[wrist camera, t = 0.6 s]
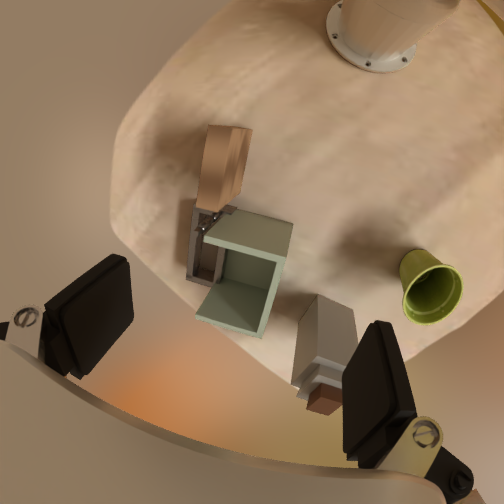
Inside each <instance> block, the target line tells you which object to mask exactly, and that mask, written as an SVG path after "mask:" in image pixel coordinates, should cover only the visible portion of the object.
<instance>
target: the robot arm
mask: <svg viewBox="0 0 504 504" xmlns="http://www.w3.org/2000/svg"><path fill="white" fill-rule="evenodd" d="M482 1H483V2H484V3H485V4H487V5H488V6H489V7H490V8H491V9H492V10H493V11H494V12H495V13H496V14H497V15H498V16H499V17H500V18H501V19H502V20H503V21H504V0H482ZM459 3H460V0H340V1H339V2H337V3H336V4H335V5H333V6H332V8H331V9H330V11H329V12H328V15H327V19H326V31H327V34H328V38H329V40H330V42H331V44H332V45H333V47H334V48H335V49H336V51H337V52H338V53H339V54H340V55H341V56H342V57H343V58H345V59H346V60H347V61H349V62H350V63H351V64H353V65H355V66H357V67H359V68H361V69H364V70H367V71H370V72H375V73H393V72H396V71H399V70H401V69H403V68H404V67H406V66H407V65H408V64H409V63H410V62H411V61H412V59H413V58H414V56H415V53H416V47H417V44H416V43H417V42H418V41H419V40H420V39H422V38H423V37H424V36H426V35H427V34H428V33H429V32H431V31H432V30H433V29H435V28H436V27H437V26H439V25H440V24H441V23H443V22H444V21H445V20H447V19H448V18H449V17H451V16H452V15H453V14H454V13H455V11H456V10H457V8H458V6H459ZM339 7H340V8H339ZM333 37H336V38H337V39H334V38H333ZM402 60H403V61H404V62H403V61H402ZM365 64H368V66H366V65H365ZM44 306H45V309H46V311H45V312H44V313H43V312H42V310H41V308H39V307H38V306H35V305H25V306H22V307H20V308H19V309H17V310H16V311H15V312H14V313H13V314H12V316H11V319H10V322H3V323H0V504H486V503H485V502H484V500H483V499H482V497H481V496H480V494H479V493H478V491H477V489H474V490H472V487H473V484H474V477H473V474H472V471H471V470H470V469H469V468H468V467H467V466H466V465H465V464H464V463H462V462H461V461H460V460H459V459H457V458H456V457H455V456H454V455H452V454H451V453H450V452H449V451H447V450H446V449H445V448H444V447H442V446H441V445H442V442H443V432H442V429H441V427H440V426H439V424H438V423H437V422H436V421H435V420H433V419H432V418H430V417H426V416H420V417H417V413H416V407H415V403H414V399H413V395H412V391H411V387H410V383H409V380H408V376H407V372H406V368H405V365H404V362H403V358H402V355H401V352H400V348H399V345H398V342H397V339H396V336H395V333H394V330H393V327H392V324H391V323H389V322H384V321H379V320H376V321H375V322H374V323H370V324H369V326H368V327H367V329H366V331H365V333H364V335H363V337H362V339H361V341H360V343H359V345H358V346H357V348H356V350H355V352H354V354H353V355H352V357H351V359H350V361H349V363H348V364H347V366H346V368H345V369H344V371H343V374H342V404H343V452H344V453H347V461H358V467H359V468H336V467H324V466H314V465H306V464H296V463H290V462H284V461H277V460H272V459H266V458H261V457H255V456H251V455H247V454H243V453H238V452H234V451H230V450H226V449H223V448H219V447H216V446H212V445H209V444H206V443H202V442H199V441H196V440H193V439H190V438H187V437H185V436H182V435H179V434H176V433H174V432H171V431H168V430H166V429H163V428H161V427H158V426H156V425H153V424H151V423H149V422H146V421H144V420H142V419H140V418H138V417H135V416H133V415H131V414H129V413H127V412H125V411H122V410H121V409H119V408H117V407H115V406H113V405H111V404H109V403H107V402H105V401H103V400H101V399H99V398H98V397H96V396H94V395H92V394H91V393H89V392H87V391H86V390H84V389H82V388H81V387H79V386H77V385H76V384H74V383H73V382H71V381H69V380H68V379H67V374H68V373H69V372H70V374H71V375H73V376H75V377H76V378H78V379H79V380H81V379H82V377H83V376H84V375H88V374H89V373H90V372H91V371H92V369H93V368H94V367H95V366H96V364H97V363H98V362H99V361H100V360H101V358H102V357H103V356H104V355H105V354H106V352H107V351H108V350H109V349H110V348H111V346H112V345H113V344H114V343H115V341H116V340H117V339H118V338H119V337H120V336H121V335H122V333H123V332H124V331H125V330H126V329H127V328H128V326H129V325H130V324H131V323H132V321H133V318H134V310H133V302H132V290H131V278H130V265H129V262H127V259H126V258H125V257H123V256H120V255H116V254H111V255H109V256H108V257H106V258H105V259H104V260H102V261H101V262H99V263H98V264H97V265H95V266H94V267H92V268H91V269H90V270H88V271H87V272H86V273H84V274H83V275H82V276H80V277H79V278H77V279H76V280H75V281H74V282H72V283H71V284H70V285H68V286H67V287H66V288H65V289H63V290H62V291H61V292H59V293H58V294H57V295H55V296H54V297H53V298H52V299H51V300H49V301H48V302H47V303H46V304H44Z"/></svg>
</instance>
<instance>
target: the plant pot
mask: <svg viewBox="0 0 504 504" xmlns="http://www.w3.org/2000/svg"><path fill="white" fill-rule="evenodd" d="M399 274H400V278H401V282H402V286H403V291H404V296H403V302H402V305H403V311H404V313H405V315H406V317H407V318H408V319H409V320H410V321H411V322H413V323H415V324H418V325H432V324H435V323H438V322H440V321H442V320H443V319H445V318H446V317H448V316H449V315H450V314H451V313H452V312H453V311H454V310H455V308H456V307H457V305H458V304H459V302H460V300H461V297H462V294H463V279H462V276H461V274H460V273H459V272H458V271H457V270H456V269H455V268H454V267H452V266H450V265H446V264H443V263H441V262H440V261H439V260H438V259H436V258H435V257H434V256H433V255H431V254H430V253H429V252H427V251H426V250H419V249H416V250H413V251H411V252H409V253H408V254H406V255H405V257H404V258H403V259H402V261H401V264H400V268H399ZM425 274H426V276H425V277H424V278H422V279H419V278H421V277H423V276H424V275H425Z"/></svg>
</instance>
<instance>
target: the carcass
mask: <svg viewBox="0 0 504 504" xmlns="http://www.w3.org/2000/svg"><path fill="white" fill-rule="evenodd" d="M292 228H293V224H292V223H289V222H285V221H281V220H278V219H274V218H270V217H266V216H262V215H258V214H255V213H251V212H247V211H243V210H239V209H237V210H236V211H235V212H234V213H233V214H232V215H229V214H225V215H224V216H223V217H222V218H221V219H220V220H219V221H218V222H217V223H216V224H215V225H214V226H213V227H212V228H211V229H210V230H209V231H208V232H207V233H206V234H205V235H204V241H203V242H206V243H209V244H213V245H216V246H220V247H224V248H227V249H228V255H227V261H226V267H225V273H224V278H223V279H222V281H221V283H220V284H217V283H214V285H213V287H212V288H211V290H210V292H209V293H208V295H207V296H206V298H205V300H204V301H203V303H202V304H201V306H200V308H199V309H198V311H197V312H196V315H195V319H198V320H201V321H204V322H207V323H210V324H213V325H216V326H219V327H222V328H226V329H229V330H232V331H236V332H239V333H242V334H246V335H249V336H253V337H256V338H260V339H262V336H263V333H264V330H265V327H266V324H267V320H268V317H269V314H270V311H271V308H272V304H273V301H274V298H275V294H276V291H277V288H278V284H279V281H280V278H281V274H282V271H283V267H284V264H285V261H286V257H287V252H288V247H289V243H290V238H291V233H292Z"/></svg>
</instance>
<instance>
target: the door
mask: <svg viewBox="0 0 504 504" xmlns="http://www.w3.org/2000/svg"><path fill="white" fill-rule="evenodd" d="M252 131H253V130H251V129H245V128H240V127H233V126H220V125H208V130H207V136H206V142H205V148H204V154H203V160H202V166H201V173H200V180H199V187H198V194H197V201H196V207H198V208H202V209H206V210H210V211H214V212H218V211H219V210H220V209H221V208H223V207H224V206H225V205H226V204H227V203H228V202H230V201H231V200H232V199H233V198H234V197H235V196H237V195H238V194H239V193H240V191H241V186H242V180H243V175H244V170H245V165H246V160H247V155H248V150H249V145H250V140H251V135H252Z"/></svg>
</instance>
